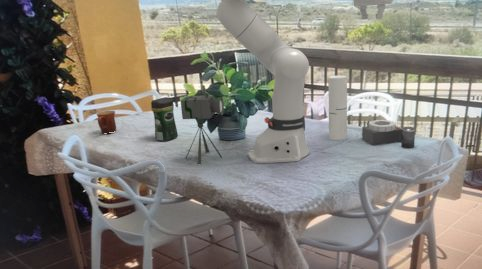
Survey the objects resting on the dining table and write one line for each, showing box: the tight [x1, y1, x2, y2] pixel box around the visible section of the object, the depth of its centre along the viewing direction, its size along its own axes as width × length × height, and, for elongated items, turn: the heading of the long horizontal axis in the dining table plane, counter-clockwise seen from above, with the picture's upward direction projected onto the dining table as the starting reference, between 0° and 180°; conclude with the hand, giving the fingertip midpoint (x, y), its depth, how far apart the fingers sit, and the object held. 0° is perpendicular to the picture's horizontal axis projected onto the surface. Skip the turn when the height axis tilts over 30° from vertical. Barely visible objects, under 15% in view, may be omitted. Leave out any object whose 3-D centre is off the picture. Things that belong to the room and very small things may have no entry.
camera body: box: [361, 119, 402, 146], centre depth 157 cm, size 12×10×7 cm
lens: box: [400, 126, 416, 149], centre depth 148 cm, size 5×5×7 cm
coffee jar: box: [150, 97, 179, 142], centre depth 179 cm, size 10×8×19 cm
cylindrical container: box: [327, 74, 348, 141], centre depth 162 cm, size 7×7×25 cm
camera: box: [180, 91, 225, 165], centre depth 149 cm, size 16×16×25 cm
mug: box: [96, 110, 117, 134], centre depth 196 cm, size 12×9×10 cm
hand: (371, 19), depth 142 cm, fingers open, 8 cm apart
